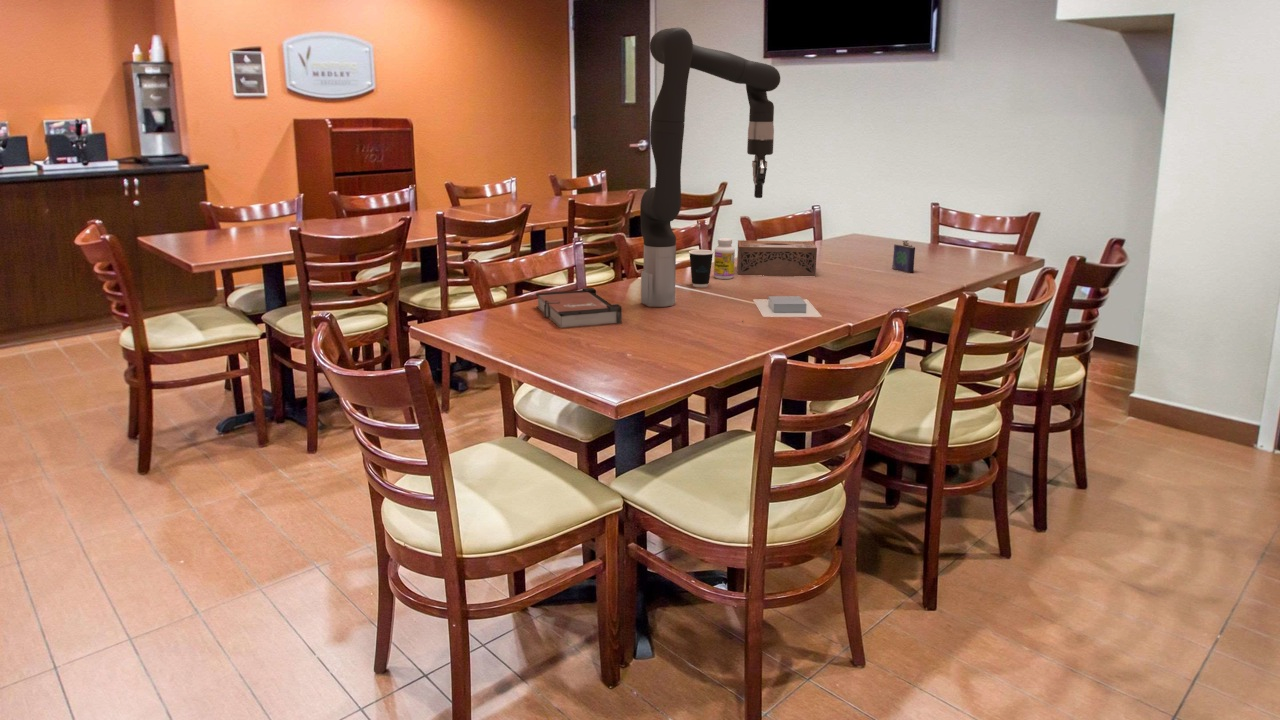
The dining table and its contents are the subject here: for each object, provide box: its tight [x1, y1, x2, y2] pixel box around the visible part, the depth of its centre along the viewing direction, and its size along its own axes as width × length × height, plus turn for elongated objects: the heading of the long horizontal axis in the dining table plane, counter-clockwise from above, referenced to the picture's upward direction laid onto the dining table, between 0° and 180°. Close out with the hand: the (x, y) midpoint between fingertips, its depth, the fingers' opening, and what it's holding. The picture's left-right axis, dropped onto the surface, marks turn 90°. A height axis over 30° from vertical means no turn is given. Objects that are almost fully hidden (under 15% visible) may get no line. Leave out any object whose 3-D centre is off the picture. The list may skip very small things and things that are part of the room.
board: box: [752, 298, 823, 318], centre depth 252 cm, size 22×16×1 cm
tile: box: [768, 295, 807, 313], centre depth 250 cm, size 2×9×10 cm
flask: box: [891, 240, 916, 274], centre depth 308 cm, size 9×3×11 cm, turn 28°
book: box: [535, 287, 623, 330], centre depth 245 cm, size 26×18×5 cm
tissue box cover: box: [736, 239, 818, 277], centre depth 306 cm, size 26×14×10 cm, turn 86°
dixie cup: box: [688, 249, 715, 288], centre depth 283 cm, size 8×8×11 cm
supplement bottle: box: [713, 237, 736, 280], centre depth 296 cm, size 7×7×13 cm
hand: (758, 197), depth 265 cm, fingers closed
